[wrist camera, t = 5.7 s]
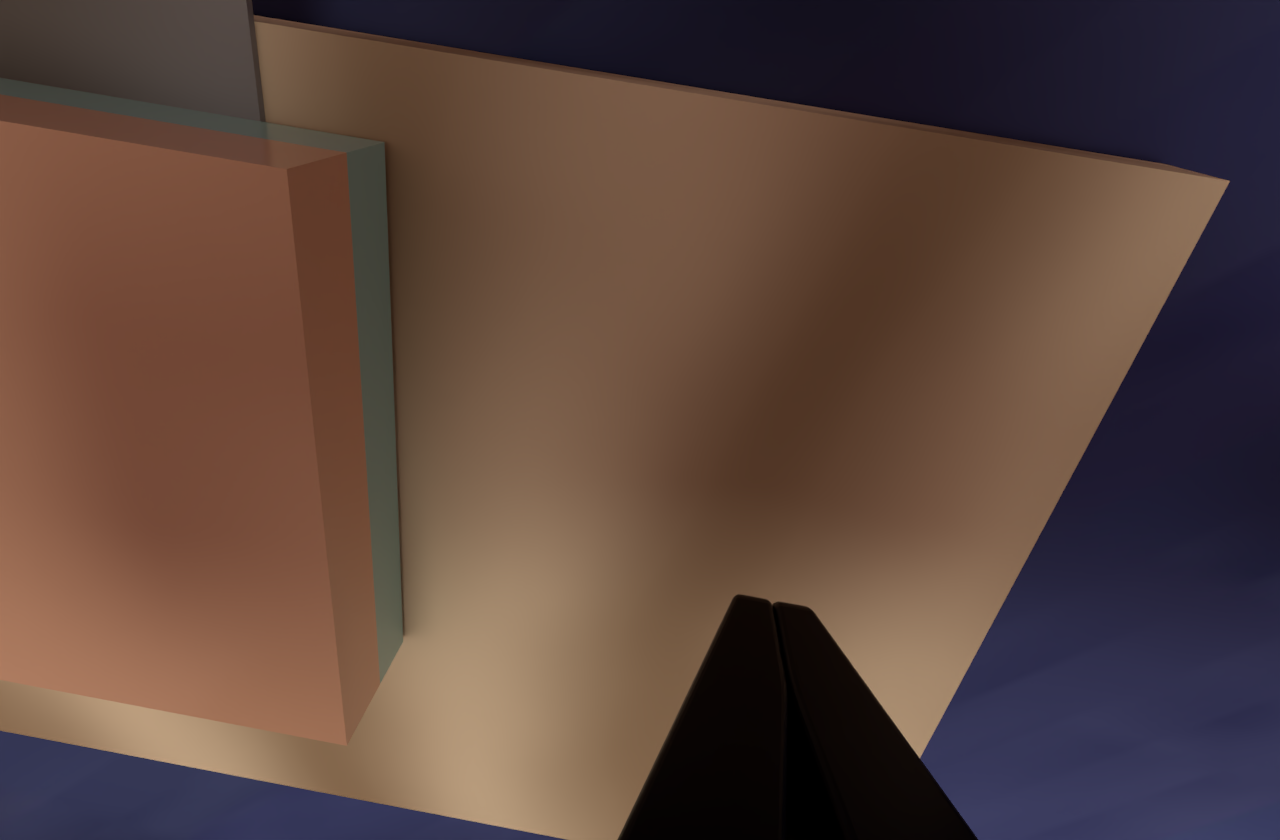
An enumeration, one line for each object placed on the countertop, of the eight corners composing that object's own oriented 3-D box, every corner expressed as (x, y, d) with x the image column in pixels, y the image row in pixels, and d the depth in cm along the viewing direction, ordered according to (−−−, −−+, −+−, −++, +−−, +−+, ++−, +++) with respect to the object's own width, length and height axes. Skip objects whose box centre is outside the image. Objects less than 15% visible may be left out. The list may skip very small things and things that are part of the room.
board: (1187, 118, 8) (1264, 131, 7) (838, 834, 15) (847, 898, 14) (-441, -145, 8) (-621, -174, 7) (-42, 666, 16) (-102, 715, 14)
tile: (285, 170, 6) (-569, 24, 6) (346, 746, 10) (-182, 645, 10) (384, 141, 8) (-287, 29, 8) (403, 640, 12) (-49, 557, 12)
